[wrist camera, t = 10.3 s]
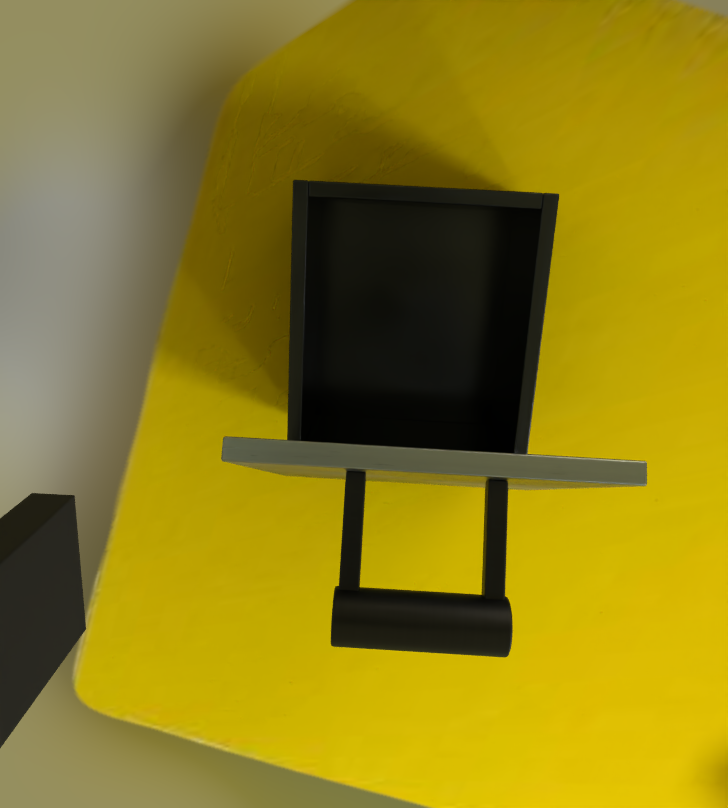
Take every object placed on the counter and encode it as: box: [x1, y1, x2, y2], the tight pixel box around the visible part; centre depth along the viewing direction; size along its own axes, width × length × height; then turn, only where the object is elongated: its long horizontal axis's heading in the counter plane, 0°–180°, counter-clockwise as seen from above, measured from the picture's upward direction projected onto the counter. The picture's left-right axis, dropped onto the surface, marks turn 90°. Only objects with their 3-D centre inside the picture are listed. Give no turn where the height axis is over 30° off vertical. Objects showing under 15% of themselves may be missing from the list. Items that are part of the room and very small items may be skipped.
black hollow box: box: [287, 180, 559, 454], centre depth 40 cm, size 16×14×9 cm
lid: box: [221, 437, 647, 657], centre depth 29 cm, size 17×14×7 cm
